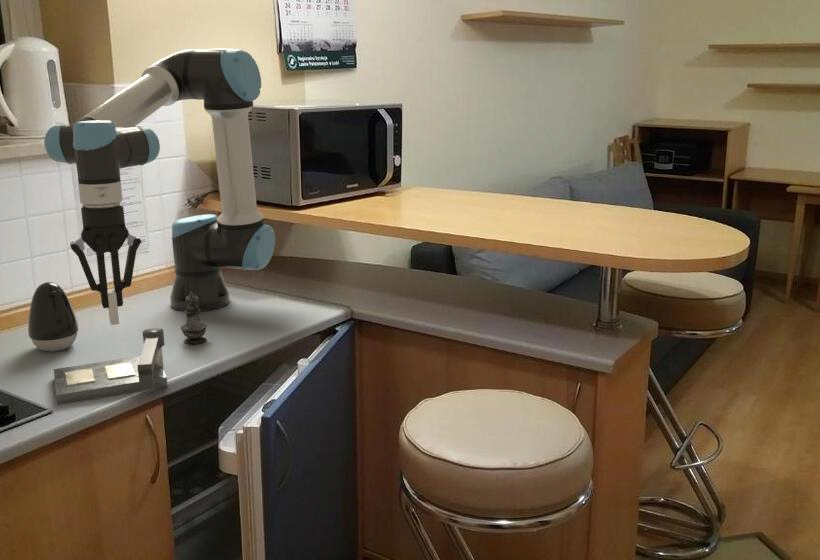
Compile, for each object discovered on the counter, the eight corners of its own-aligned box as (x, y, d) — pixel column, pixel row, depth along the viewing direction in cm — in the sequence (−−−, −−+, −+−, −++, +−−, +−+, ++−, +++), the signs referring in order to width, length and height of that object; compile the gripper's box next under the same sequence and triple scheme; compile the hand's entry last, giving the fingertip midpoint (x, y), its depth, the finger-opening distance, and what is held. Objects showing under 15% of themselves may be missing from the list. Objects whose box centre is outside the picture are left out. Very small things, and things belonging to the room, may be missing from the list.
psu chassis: (158, 362, 168) (156, 335, 167) (169, 386, 156) (167, 356, 155) (54, 378, 160) (50, 349, 158) (57, 404, 148) (53, 374, 146)
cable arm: (146, 354, 162) (143, 328, 161) (166, 352, 163) (164, 327, 161) (135, 390, 144) (132, 362, 143) (158, 388, 145) (155, 361, 144)
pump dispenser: (36, 359, 170) (27, 292, 166) (26, 345, 178) (17, 281, 174) (85, 349, 176) (78, 284, 172) (73, 336, 184) (66, 273, 180)
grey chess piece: (181, 346, 178) (177, 295, 174) (181, 338, 183) (177, 288, 180) (208, 344, 179) (205, 293, 176) (207, 335, 185) (204, 286, 181)
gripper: (65, 210, 143) (80, 333, 149) (140, 204, 148) (151, 323, 155) (63, 203, 150) (77, 321, 156) (135, 198, 155) (146, 312, 161)
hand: (114, 322), depth 155 cm, fingers closed
